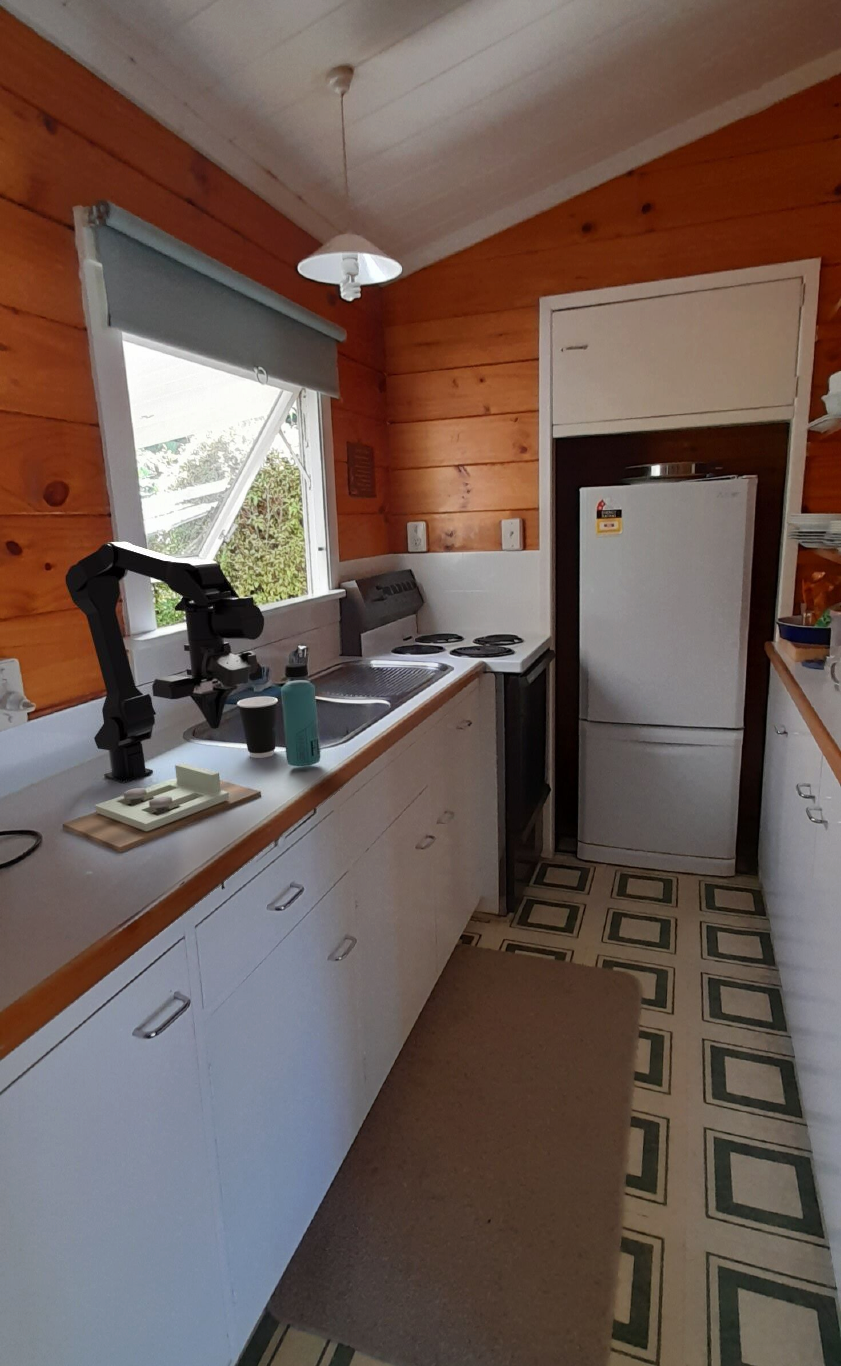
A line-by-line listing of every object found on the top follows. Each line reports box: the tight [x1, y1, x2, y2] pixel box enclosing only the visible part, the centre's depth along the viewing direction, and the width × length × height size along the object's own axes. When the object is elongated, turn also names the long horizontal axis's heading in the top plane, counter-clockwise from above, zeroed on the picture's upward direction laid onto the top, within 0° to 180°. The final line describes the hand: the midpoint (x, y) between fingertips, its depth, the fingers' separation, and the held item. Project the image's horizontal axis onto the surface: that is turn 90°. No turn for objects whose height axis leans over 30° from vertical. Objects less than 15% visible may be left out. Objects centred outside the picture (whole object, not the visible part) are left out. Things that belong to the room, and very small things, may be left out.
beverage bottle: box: [280, 662, 322, 767], centre depth 136 cm, size 6×7×20 cm
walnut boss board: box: [61, 780, 262, 853], centre depth 119 cm, size 16×26×4 cm, turn 143°
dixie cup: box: [236, 696, 279, 759], centre depth 147 cm, size 8×8×11 cm
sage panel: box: [94, 762, 229, 831], centre depth 119 cm, size 14×15×4 cm
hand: (215, 728), depth 126 cm, fingers closed
